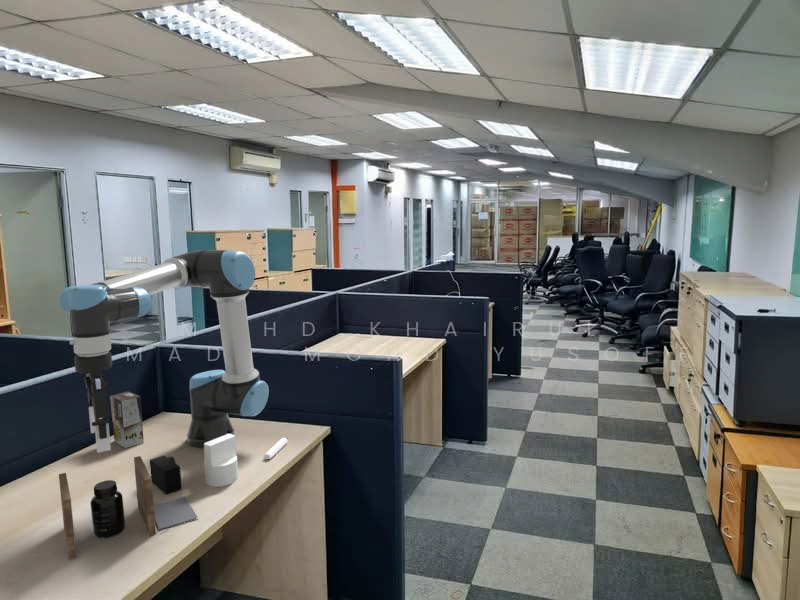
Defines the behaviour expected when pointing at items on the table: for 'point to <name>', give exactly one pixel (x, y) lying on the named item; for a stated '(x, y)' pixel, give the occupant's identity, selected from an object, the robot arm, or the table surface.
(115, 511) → the supplement bottle
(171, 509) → the zone mat
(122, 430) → the coffee box
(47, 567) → the table surface
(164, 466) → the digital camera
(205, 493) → the table surface
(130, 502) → the table surface
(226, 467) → the base with upright slab
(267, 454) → the marker
